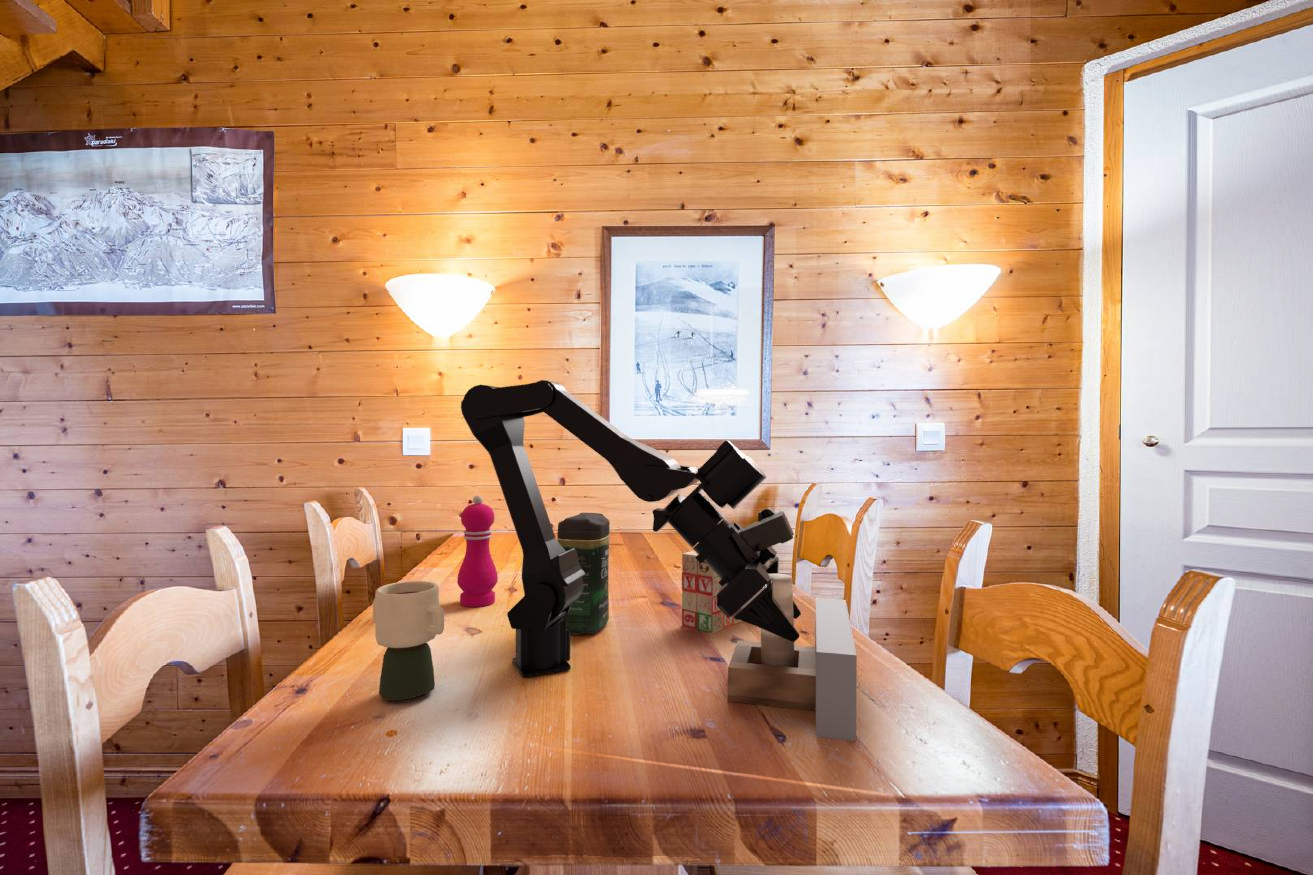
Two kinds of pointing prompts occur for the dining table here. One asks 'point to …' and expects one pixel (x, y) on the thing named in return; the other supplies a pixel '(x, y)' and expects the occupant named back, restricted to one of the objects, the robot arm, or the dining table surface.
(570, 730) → the dining table surface
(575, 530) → the coffee jar
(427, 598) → the character mug
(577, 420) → the robot arm
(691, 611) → the stack of blocks
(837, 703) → the board
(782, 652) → the dowel
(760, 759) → the dining table surface
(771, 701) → the socket block
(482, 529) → the pepper mill
